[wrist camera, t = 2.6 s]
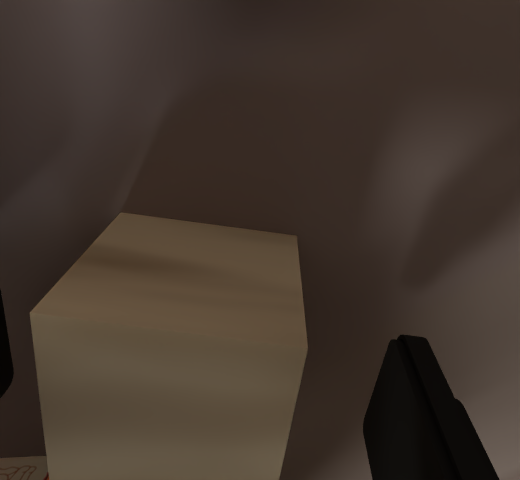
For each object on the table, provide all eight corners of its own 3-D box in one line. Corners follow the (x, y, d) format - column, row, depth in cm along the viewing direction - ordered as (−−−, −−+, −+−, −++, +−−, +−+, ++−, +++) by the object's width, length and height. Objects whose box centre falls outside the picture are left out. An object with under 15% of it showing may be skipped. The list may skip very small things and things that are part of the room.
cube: (271, 369, 14) (270, 521, 10) (122, 350, 14) (51, 495, 10) (296, 234, 12) (308, 348, 8) (121, 211, 12) (28, 312, 8)
